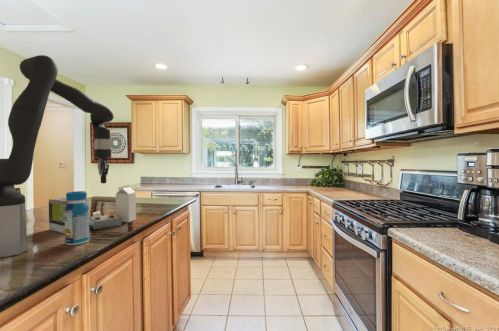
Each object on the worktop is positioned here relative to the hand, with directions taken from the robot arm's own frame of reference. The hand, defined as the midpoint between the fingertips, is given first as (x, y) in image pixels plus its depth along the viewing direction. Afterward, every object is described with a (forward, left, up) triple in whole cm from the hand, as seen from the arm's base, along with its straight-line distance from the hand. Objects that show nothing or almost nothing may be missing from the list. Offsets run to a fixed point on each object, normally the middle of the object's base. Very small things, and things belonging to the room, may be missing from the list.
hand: (103, 183), depth 132 cm
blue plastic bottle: (-24, +15, -21) cm, 35 cm away
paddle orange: (0, -3, -16) cm, 16 cm away
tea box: (+3, +15, -21) cm, 26 cm away
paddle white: (0, +3, -16) cm, 16 cm away
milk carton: (+2, -11, -21) cm, 24 cm away
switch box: (0, 0, -21) cm, 21 cm away
